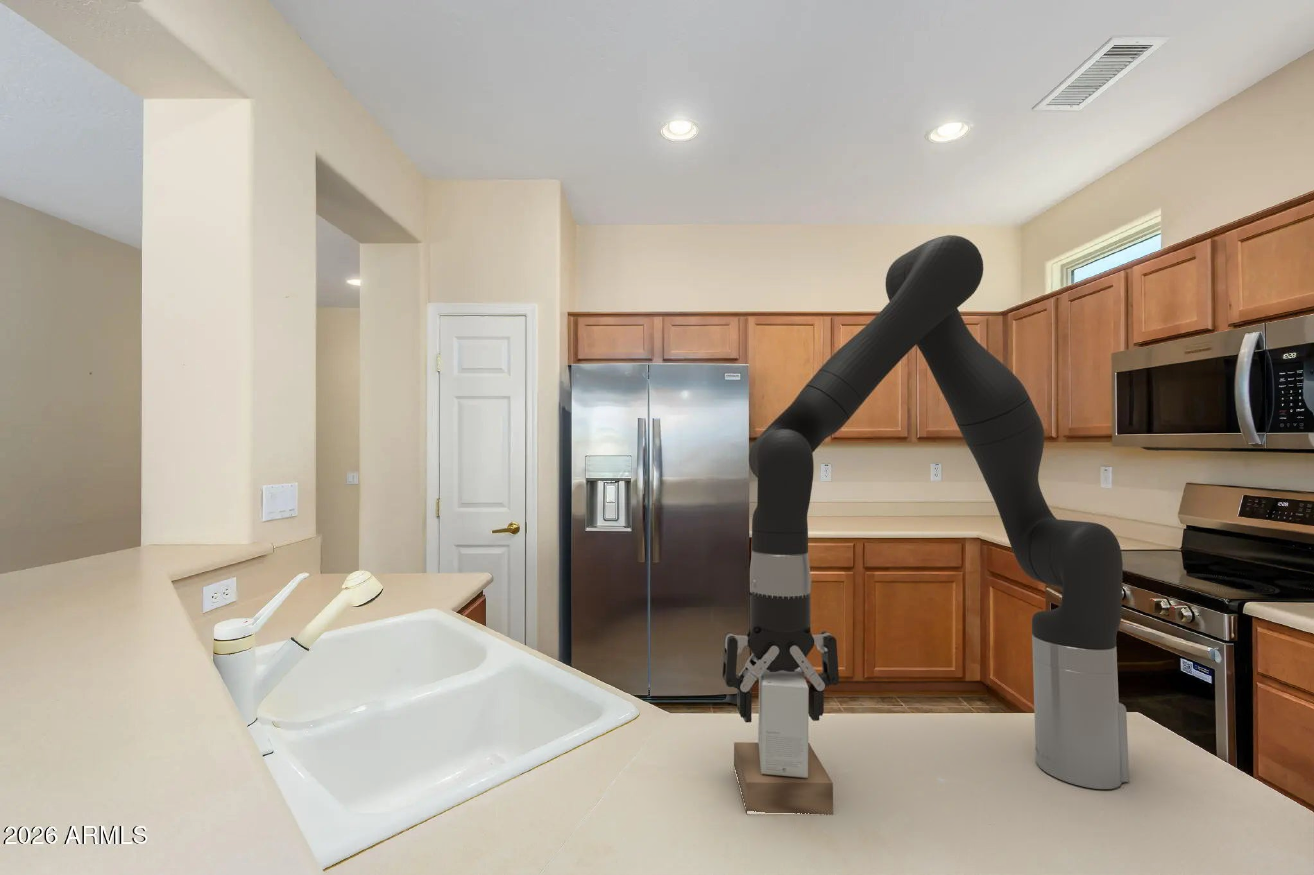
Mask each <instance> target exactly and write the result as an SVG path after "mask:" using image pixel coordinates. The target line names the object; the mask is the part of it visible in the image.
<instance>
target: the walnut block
mask: <svg viewBox="0 0 1314 875" xmlns="http://www.w3.org/2000/svg"><path fill="white" fill-rule="evenodd" d="M734 767H735V770H736V774H737V777H738V781H739V785H740V788H741V792H742V796H743V799H744V803H745V807H746V810H747V811H754V812H755V811H756V812H765V813H796V814H797V813H800V814H801V813H802V814H805V813H806V814H808V813H809V814H820V815H819V816H822V815H821V814H824V815H823V816H834V782H833V781H832V779H831V777H830V776H829V774H828V772H827V771H826V769H825V767H824V766H823V764H822V762H821V761H820V758H819V757H818V756H817V754H816V753H815V751H814V748H813V747H812V745H811V743H810V742H808V778H801V777H791V776H780V775H769V774H761V767H760V756H759V745H758V741H757V742H756V741H755V742H754V741H753V742H749V741H747V742H746V741H745V742H737V741H734V742H733V768H734ZM742 796H741V797H742ZM744 803H743V804H744ZM745 807H744V808H745ZM825 814H826V815H825ZM828 814H829V815H828Z"/></svg>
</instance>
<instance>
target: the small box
mask: <svg viewBox="0 0 1314 875" xmlns="http://www.w3.org/2000/svg"><path fill="white" fill-rule="evenodd" d="M808 685H809V684H808V683H807V680H806V676H805V674H804V673H803V672H802V671H801V669H800V668H798V669H796V670H795V672H787V671H784V670H781V671H778V672H770V671H769V670H765V671H764V673H763V674H762V675H761V677H760V678H759V679H758V725H757V726H758V729H757V731H758V733H757V734H758V735H757V736H758V739H757V740H758V741H757V743H758V745H759V756H760V767H761V774H769V775H780V776H791V777H801V778H808V743H809V714H808V699H809V688H808Z"/></svg>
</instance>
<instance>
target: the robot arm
mask: <svg viewBox="0 0 1314 875" xmlns="http://www.w3.org/2000/svg"><path fill="white" fill-rule="evenodd" d="M983 276H984V260H983V257H982V253H981V252H980V250H979V248H978V247H977V246H976V245H975V244H974V243H973V242H972V241H971V240H969V239H967V238H965V237H963V236H960V235H957V234H955V235H954V234H953V235H951V234H950V235H943V236H938V237H934V238H932V239H929V240H927V241H926V242H923V243H922V244H919V245H918V246H916V247H914V248H913V249H911V250H909V251H907V252H906V253H904V254H901V256H899V257H897V258H896V259H895V261H893V262H892V264H890V266H889V268H888V270H887V273H886V277H885V291H886V295H887V298H888V301H889V302H888V303H887V304H885V306H884V307H883V308H882V310H880V311H879V312H878V314H877V315H876V316H874V318H872V320H870V322H869V323H867V325H865V326H864V327H863V328H861V330H860V331H858V333H856V334H855V335H853V337H851V339H849V340H848V341H847V342H845V343H844V344H843V345H842V346H841V347H840V348H839V349H838V350H837V351H836V352H834V354H832V355H831V356H830V357H829V359H827V360H826V361H825V363H824V364H823V365H822V366H821V367H820V368H819V369H818V370H817V372H816V373H815V374H814V375H813V376H812V378H811V379H809V381H808V382H807V383H806V384H805V386H804V387H803V388H802V389H801V391H800V392H799V393H798V394H797V396H796V397H795V399H794V400H793V401H792V403H790V405H789V406H788V407H787V408H786V409H785V410H784V411H783V412H782V413H780V414H779V415H778V416H777V417H776V418H775V419H774V420H773V421H772V422H771V423H770V424H769V425H768V426H767V427H766V428H765V429H764V430H763V432H761V433H760V435H759V436H758V437H757V439H756V440H754V442H753V444H752V446H751V448H750V450H749V453H748V464H749V468H750V471H751V472H752V474H753V475H754V477H756V479H757V487H756V488H757V494H756V495H757V496H756V497H757V502H756V503H757V504H756V508H755V509H754V511H753V514H752V518H751V519H752V520H751V559H750V563H749V564H750V565H749V630H748V632H747V634H746V635H740V634H739V635H736V634H734V633H733V632H726V633H725V635H724V641H723V653H722V654H723V655H722V656H723V659H722V671H721V672H722V674H721V675H722V676H721V677H722V680H724V681H725V682H724V683H725V684H726V686H727V687H728V688H734V689H737V690H736V694H737V696H736V697H737V705H736V706H737V709H736V710H737V711H738V714H739V716H740V718H742V719H743V721H744V722H745V723H752V717H753V716H752V712H753V711H752V708H753V707H752V703H753V702H752V696H753V695H752V691H751V690H750V689H751V688H752V686H753V685H754V683H755V682H756V681H757V680H759V678H760V677H761V675H762V674H763V673H764V671H765V670H769V671H770V672H778V671H781V670H784V671H787V672H795V670H796V669H798V668H800V669H801V671H802V672H803V674H804V677H805V678H807V680H808V681H809V682H810V684H807V685H808V688H809V699H808V717H810V720H812V721H813V722H816V721H817V722H819V721H820V717H823V715H824V712H825V710H824V709H825V705H824V704H825V702H824V701H825V700H824V698H825V697H824V696H825V695H824V694H825V693H824V691H825V689H826V688H827V687H829V686H831V685H832V686H837V685H838V684H839V683H840V676H839V675H840V674H839V660H838V659H839V658H838V645H837V643H838V641H837V639H836V637H834V636H833V635H832V634H830V633H829V632H828V631H825V630H824V631H822V632H821V633H820V634H812V632H811V630H812V629H811V628H812V626H811V624H812V622H811V621H812V619H811V605H812V604H811V602H812V601H811V589H812V580H811V569H810V568H811V566H810V561H809V560H810V558H809V553H808V552H809V528H808V527H809V526H808V525H809V524H808V512H809V507H810V503H811V496H812V489H813V483H814V482H813V481H814V474H815V472H814V468H815V466H814V454H813V453H814V452H815V451H816V449H818V448H819V446H821V444H822V443H823V442H824V441H825V440H826V439H828V438H829V437H830V436H833V435H835V434H836V433H838V431H839V430H841V428H843V427H844V425H846V424H847V422H848V421H849V420H850V419H851V417H853V415H854V414H855V413H856V412H857V410H859V409H860V407H861V406H862V405H863V403H864V402H866V400H867V399H868V398H869V396H870V395H871V394H872V393H873V392H874V390H875V389H876V388H877V387H878V386H879V384H880V383H881V382H882V381H883V380H884V379H885V378H886V376H888V375H889V373H891V371H892V370H893V369H894V368H895V367H896V366H897V364H899V362H900V361H902V359H903V358H904V357H905V356H906V355H907V354H909V353H910V351H911V350H912V349H913V348H914V347H915V346H916V347H917V348H918V350H919V351H920V353H921V354H922V357H923V358H924V360H925V362H926V364H927V366H928V368H929V370H930V372H931V374H932V376H933V377H934V380H935V382H936V385H937V386H938V388H939V389H940V391H941V393H942V395H943V397H944V399H945V401H946V403H947V405H948V407H949V410H950V412H951V415H952V417H953V419H954V421H955V423H956V425H957V427H958V429H959V431H960V433H961V435H962V437H963V440H964V442H965V443H966V445H967V447H968V449H969V451H970V452H971V454H972V456H973V458H974V460H975V461H976V464H977V465H978V466H977V467H978V468H979V470H980V473H981V475H982V476H983V479H984V481H985V484H986V485H987V488H988V490H989V492H990V493H991V497H992V498H993V501H994V503H995V506H996V508H997V512H998V514H999V517H1000V519H1001V522H1002V525H1003V528H1004V531H1005V534H1006V536H1007V539H1008V541H1009V545H1010V547H1011V550H1012V552H1013V554H1014V557H1015V560H1016V561H1017V563H1018V565H1019V567H1020V569H1021V570H1022V571H1023V572H1024V573H1025V574H1026V575H1027V576H1028V577H1029V578H1031V579H1032V580H1034V581H1037V582H1039V583H1042V584H1044V585H1045V584H1046V585H1049V586H1055V587H1059V588H1062V589H1061V590H1062V592H1061V593H1062V594H1061V601H1060V605H1059V606H1058V607H1057V608H1053V609H1047V610H1041V611H1040V610H1039V611H1037V612H1035V613H1034V614H1033V615H1032V617H1031V639H1032V640H1031V641H1032V642H1031V643H1032V668H1033V669H1032V673H1033V674H1032V675H1033V703H1034V705H1033V708H1034V741H1035V742H1034V743H1035V746H1034V747H1035V748H1034V749H1035V763H1036V764H1037V766H1038V767H1039V768H1040V769H1041V770H1042V771H1044V772H1046V773H1047V774H1049V775H1050V776H1052V777H1054V778H1056V779H1059V780H1061V781H1063V782H1066V783H1069V784H1072V785H1076V786H1079V787H1083V788H1088V789H1096V790H1111V789H1112V790H1113V789H1118V787H1120V786H1121V785H1122V783H1130V768H1129V767H1130V766H1129V745H1128V744H1129V742H1128V720H1127V718H1128V717H1127V708H1126V706H1125V705H1124V704H1123V703H1121V702H1119V681H1118V679H1119V678H1118V677H1119V676H1118V674H1119V673H1118V661H1117V660H1118V652H1117V633H1118V631H1119V628H1120V625H1121V622H1122V615H1123V613H1122V610H1123V609H1122V608H1123V606H1122V603H1123V602H1122V601H1123V577H1124V576H1123V575H1124V574H1123V571H1124V569H1123V567H1124V566H1123V565H1124V564H1123V563H1124V562H1123V554H1122V549H1121V546H1120V543H1119V540H1118V538H1117V536H1116V535H1115V534H1114V532H1113V531H1112V530H1111V529H1110V528H1109V527H1107V526H1105V525H1103V524H1100V523H1098V522H1097V523H1096V522H1090V521H1080V520H1070V519H1068V520H1067V519H1058V518H1057V517H1056V516H1055V515H1054V514H1053V513H1052V510H1050V508H1049V506H1048V504H1047V502H1046V500H1045V497H1044V495H1043V492H1042V489H1041V486H1040V483H1039V472H1040V466H1041V462H1042V458H1043V457H1042V456H1043V453H1044V446H1045V429H1044V425H1043V423H1042V419H1041V417H1040V416H1039V414H1038V412H1037V408H1036V407H1035V405H1034V403H1033V401H1032V399H1031V397H1030V395H1029V393H1028V391H1027V389H1026V388H1025V386H1024V384H1023V383H1022V381H1021V380H1020V379H1019V378H1018V377H1017V376H1016V375H1015V373H1013V371H1012V370H1011V369H1009V368H1008V367H1007V366H1006V365H1005V364H1003V363H1002V361H1000V360H999V359H998V358H997V357H995V355H993V354H992V353H991V352H989V350H988V349H986V348H985V347H984V346H983V345H982V344H981V343H979V341H978V340H977V339H976V338H975V337H974V335H973V334H972V333H971V332H970V329H969V328H968V327H967V325H966V323H965V321H964V319H963V316H962V314H961V312H960V311H959V309H958V308H959V307H960V306H961V305H963V304H964V303H965V302H966V301H967V300H968V299H970V298H971V297H972V296H973V295H974V293H976V291H977V289H978V287H980V284H981V282H982V278H983ZM815 645H816V648H817V650H818V651H820V653H821V654H820V655H821V667H822V668H821V669H822V672H819V673H818V672H817V670H815V668H814V667H813V665H812V664H811V662H810V661H809V660H808V659H807V657H808V655H809V654H810V652H811V651H812V649H813V648H814V646H815ZM746 646H747V647H748V648H749V650H750V651H751V652H752V654H751V655H750V656H749V658H748V659H747V661H746V662H745V664H744V667H743V669H742V670H741V671H740V672H739V674H737V664H738V662H737V660H738V655H739V654H741V653H742V652H743V649H744V647H746Z"/></svg>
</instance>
